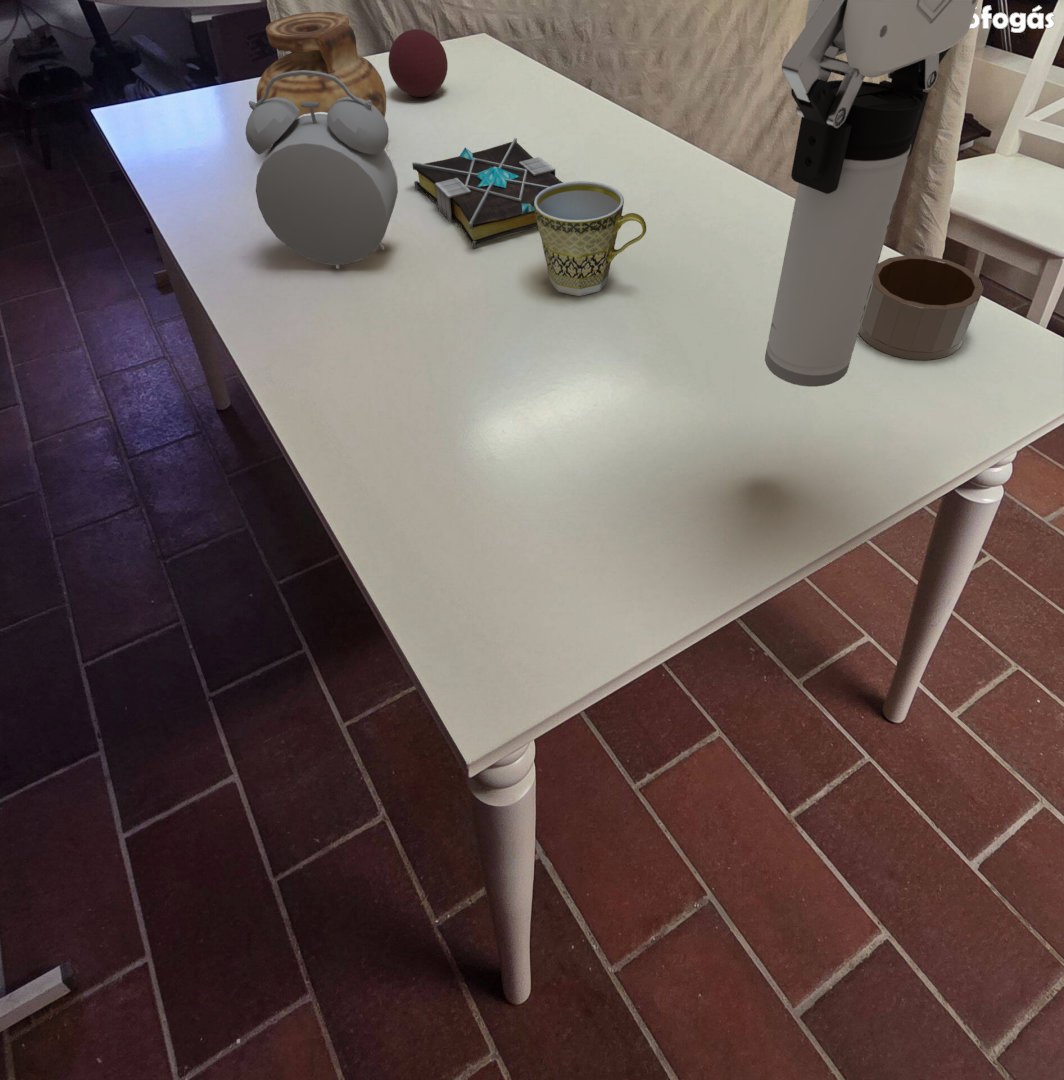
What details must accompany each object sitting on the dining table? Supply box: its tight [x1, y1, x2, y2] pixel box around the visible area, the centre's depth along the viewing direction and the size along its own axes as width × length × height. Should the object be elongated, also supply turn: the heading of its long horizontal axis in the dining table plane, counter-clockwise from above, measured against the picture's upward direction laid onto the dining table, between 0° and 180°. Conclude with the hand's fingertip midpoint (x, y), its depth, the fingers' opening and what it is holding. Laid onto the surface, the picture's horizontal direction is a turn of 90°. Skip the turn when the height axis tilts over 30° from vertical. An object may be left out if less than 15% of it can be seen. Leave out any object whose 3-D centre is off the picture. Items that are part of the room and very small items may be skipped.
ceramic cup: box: [534, 180, 647, 297], centre depth 95 cm, size 13×10×10 cm
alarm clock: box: [245, 70, 399, 270], centre depth 97 cm, size 16×9×22 cm, turn 85°
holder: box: [858, 254, 985, 361], centre depth 87 cm, size 11×11×6 cm
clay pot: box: [256, 11, 387, 120], centre depth 123 cm, size 19×19×20 cm
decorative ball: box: [388, 28, 449, 98], centre depth 140 cm, size 10×10×10 cm
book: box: [411, 137, 564, 249], centre depth 112 cm, size 22×17×5 cm
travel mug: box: [764, 79, 922, 388], centre depth 57 cm, size 6×7×20 cm
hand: (851, 166), depth 53 cm, fingers closed on travel mug, 6 cm apart
